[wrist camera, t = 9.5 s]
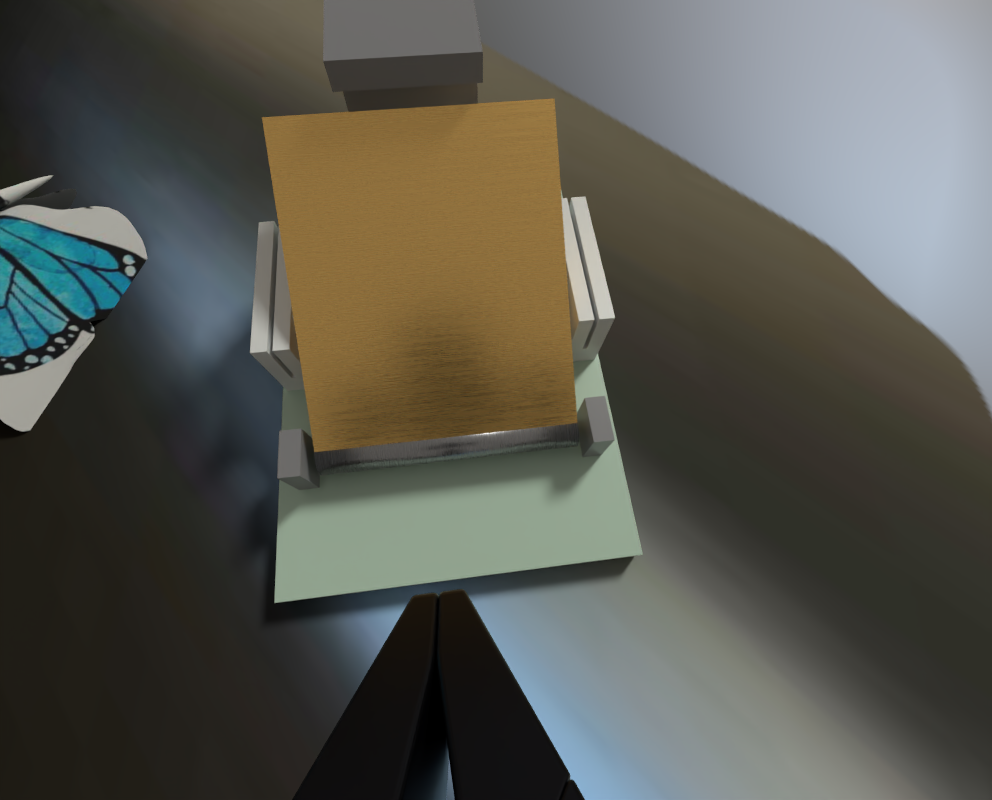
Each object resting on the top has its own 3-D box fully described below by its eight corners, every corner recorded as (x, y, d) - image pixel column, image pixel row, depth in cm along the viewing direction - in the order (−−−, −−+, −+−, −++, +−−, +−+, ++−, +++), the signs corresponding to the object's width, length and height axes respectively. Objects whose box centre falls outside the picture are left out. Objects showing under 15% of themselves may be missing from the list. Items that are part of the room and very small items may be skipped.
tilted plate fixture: (635, 555, 20) (778, 526, 10) (285, 602, 19) (77, 617, 9) (553, 182, 27) (592, -41, 17) (298, 202, 26) (190, -22, 16)
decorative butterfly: (158, 200, 21) (-101, 343, 16) (208, 305, 26) (28, 440, 21) (-7, 117, 23) (-297, 221, 17) (72, 232, 28) (-130, 340, 22)
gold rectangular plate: (580, 450, 19) (554, 96, 17) (318, 480, 18) (260, 115, 16) (571, 441, 20) (547, 115, 18) (327, 469, 19) (276, 133, 17)
